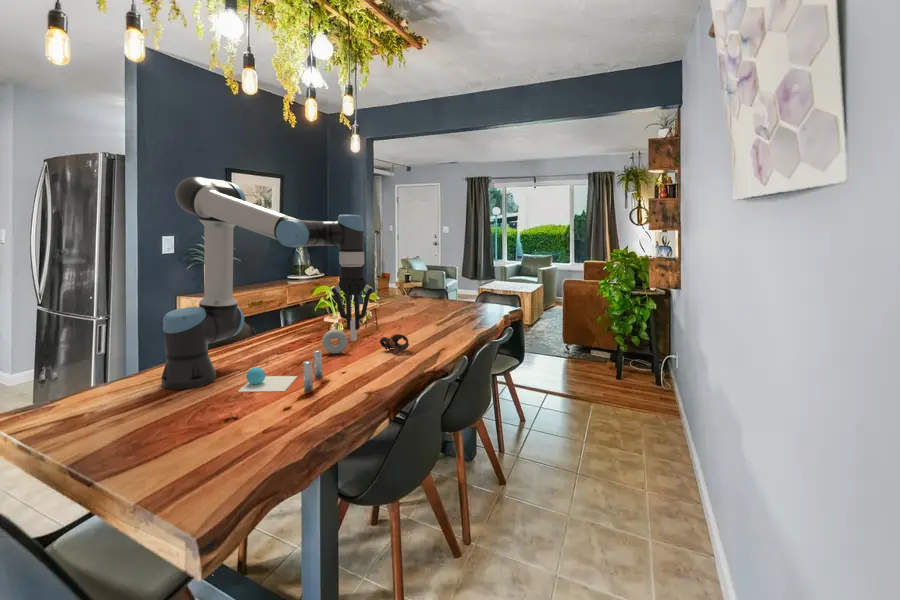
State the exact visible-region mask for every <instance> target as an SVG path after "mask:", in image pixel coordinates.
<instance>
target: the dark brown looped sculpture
mask: <svg viewBox="0 0 900 600" xmlns="http://www.w3.org/2000/svg"><path fill="white" fill-rule="evenodd" d="M402 339H403V340H404V341H405V343H403V344H402V343H398V342H399V340H402ZM379 344H380V345H381V347H383V348H384V349H385V350H388V349H390V348H391V349H393V350H392V354H393V353H394V354H393V355H395V354H396V355H398V353H401V352H405V351H406V350H407V349H408V347H409V346H410V344H409V339H408V337H407V336H405V335H403V334H401V333H400V334H399V333H394V334H392V335H391V337H386V336H382V337H380V340H379ZM391 349H390V350H391Z"/></svg>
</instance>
